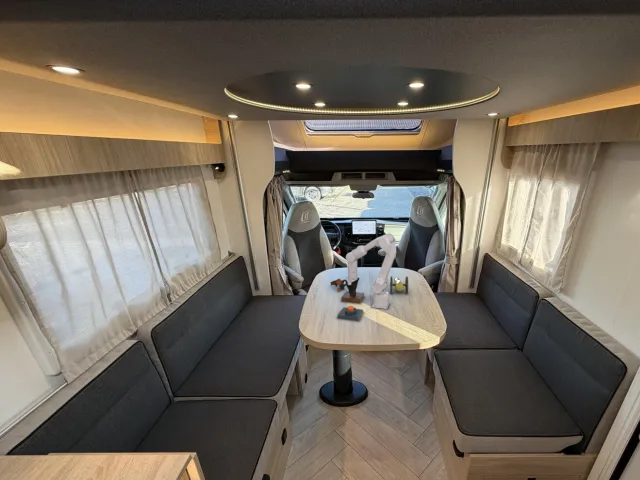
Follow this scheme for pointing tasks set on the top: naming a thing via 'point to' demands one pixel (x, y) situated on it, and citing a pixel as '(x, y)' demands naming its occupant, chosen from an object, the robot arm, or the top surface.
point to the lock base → (352, 297)
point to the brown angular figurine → (340, 283)
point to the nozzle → (350, 308)
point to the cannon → (398, 284)
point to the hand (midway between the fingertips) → (353, 291)
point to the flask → (350, 314)
